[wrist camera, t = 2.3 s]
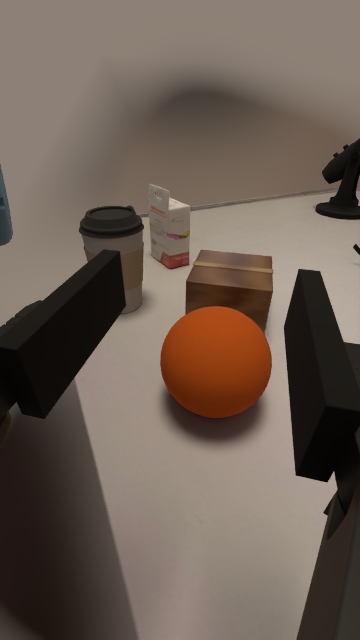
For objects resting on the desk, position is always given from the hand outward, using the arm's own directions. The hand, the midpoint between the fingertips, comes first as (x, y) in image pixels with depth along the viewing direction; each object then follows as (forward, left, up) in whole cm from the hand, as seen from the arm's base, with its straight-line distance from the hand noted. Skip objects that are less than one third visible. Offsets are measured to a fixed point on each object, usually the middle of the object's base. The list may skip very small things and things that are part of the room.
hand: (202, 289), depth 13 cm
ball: (-2, +11, -14) cm, 19 cm away
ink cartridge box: (-22, +43, -20) cm, 53 cm away
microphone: (+12, +98, -20) cm, 101 cm away
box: (-5, +28, -20) cm, 35 cm away
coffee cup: (-22, +24, -20) cm, 39 cm away
